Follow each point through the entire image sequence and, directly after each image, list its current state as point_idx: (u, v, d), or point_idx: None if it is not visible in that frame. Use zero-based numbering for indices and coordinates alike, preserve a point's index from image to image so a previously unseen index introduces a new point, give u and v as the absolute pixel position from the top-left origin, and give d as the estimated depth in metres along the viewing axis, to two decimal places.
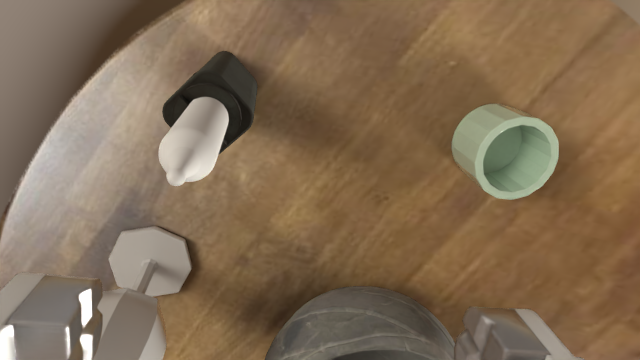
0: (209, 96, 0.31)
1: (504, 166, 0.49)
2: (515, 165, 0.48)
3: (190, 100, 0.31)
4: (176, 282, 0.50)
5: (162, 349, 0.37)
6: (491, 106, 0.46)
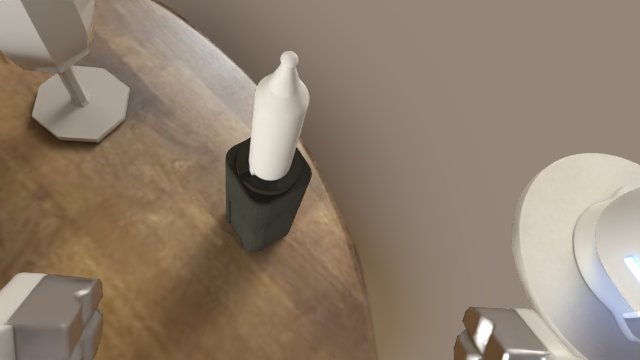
0: (289, 168, 0.32)
1: None
2: None
3: None
4: (46, 117, 0.43)
5: (3, 44, 0.31)
6: None
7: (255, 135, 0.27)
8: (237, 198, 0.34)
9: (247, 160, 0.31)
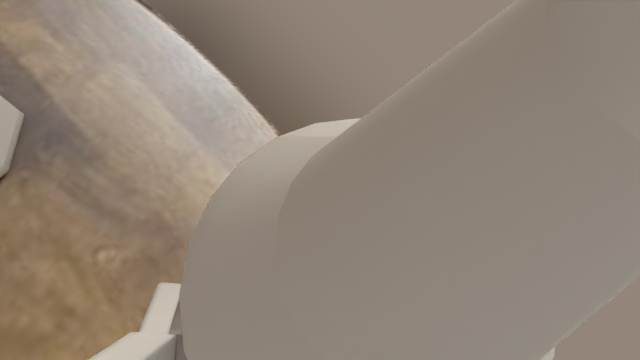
0: None
1: None
2: None
3: None
4: None
5: None
6: None
7: None
8: None
9: None
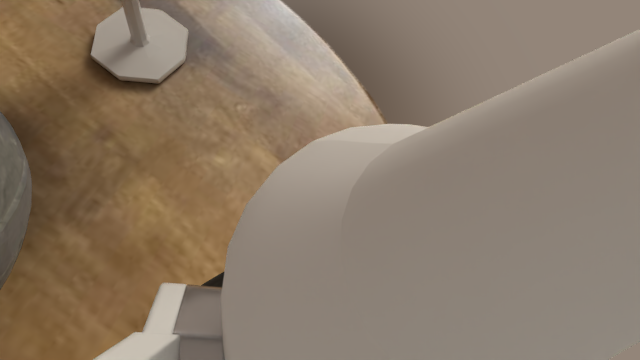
0: None
1: None
2: None
3: None
4: (105, 56, 0.41)
5: None
6: None
7: None
8: None
9: None
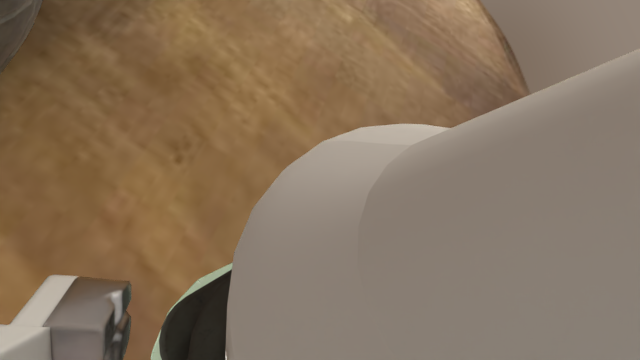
0: None
1: None
2: None
3: None
4: None
5: None
6: None
7: None
8: None
9: (221, 355, 0.10)
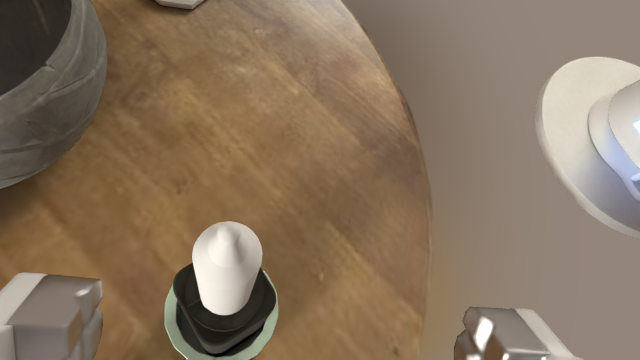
0: (249, 297, 0.27)
1: (185, 336, 0.37)
2: None
3: None
4: None
5: None
6: None
7: (199, 286, 0.22)
8: None
9: (198, 289, 0.26)
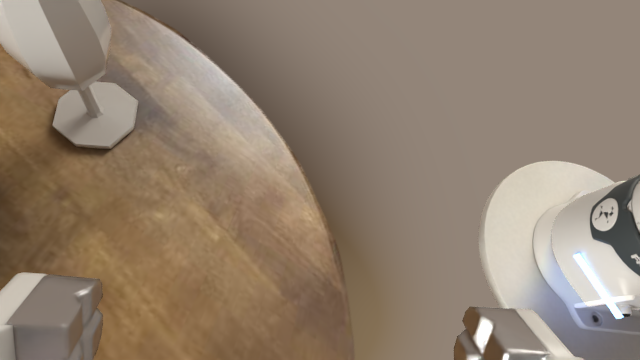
0: None
1: None
2: None
3: None
4: (65, 127, 0.49)
5: (36, 68, 0.37)
6: None
7: None
8: None
9: None
